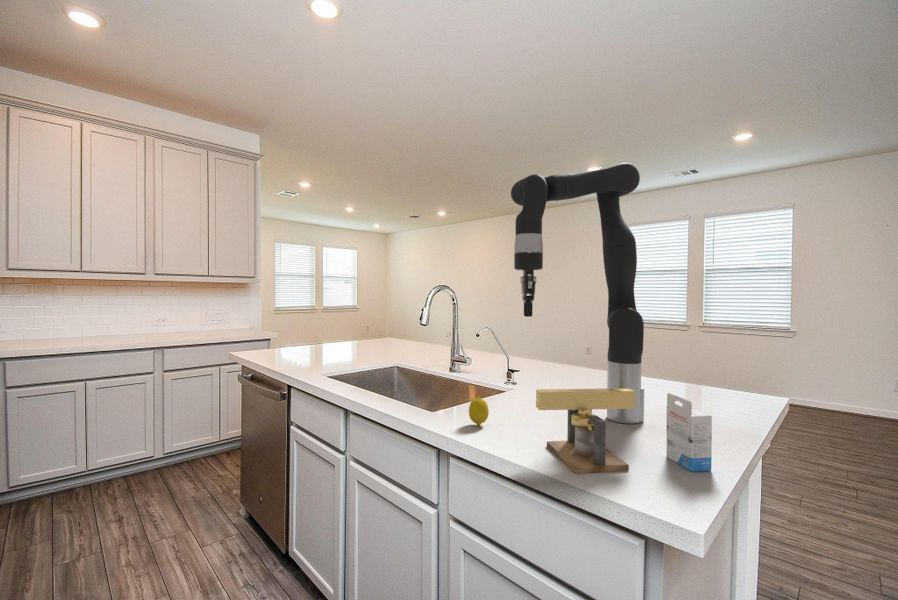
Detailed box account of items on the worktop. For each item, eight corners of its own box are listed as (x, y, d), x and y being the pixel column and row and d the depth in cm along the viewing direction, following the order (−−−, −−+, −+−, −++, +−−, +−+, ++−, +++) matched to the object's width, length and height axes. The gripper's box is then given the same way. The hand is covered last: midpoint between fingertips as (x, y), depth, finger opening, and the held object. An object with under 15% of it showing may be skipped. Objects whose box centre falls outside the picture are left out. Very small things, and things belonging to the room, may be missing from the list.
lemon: (487, 429, 110) (487, 400, 110) (467, 427, 111) (467, 398, 111) (489, 423, 115) (489, 395, 115) (470, 421, 117) (470, 394, 116)
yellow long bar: (531, 418, 95) (531, 385, 95) (621, 417, 97) (621, 384, 97) (544, 433, 86) (544, 396, 85) (644, 431, 87) (644, 395, 87)
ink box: (712, 471, 85) (713, 401, 84) (690, 472, 84) (691, 401, 84) (685, 455, 93) (686, 391, 93) (665, 456, 93) (666, 391, 92)
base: (593, 444, 100) (593, 402, 100) (628, 470, 85) (629, 421, 85) (546, 446, 98) (547, 403, 98) (575, 473, 83) (575, 423, 83)
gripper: (513, 254, 115) (512, 315, 116) (515, 249, 102) (515, 317, 103) (539, 254, 115) (539, 315, 115) (545, 249, 101) (545, 318, 102)
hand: (528, 316), depth 109 cm, fingers closed
